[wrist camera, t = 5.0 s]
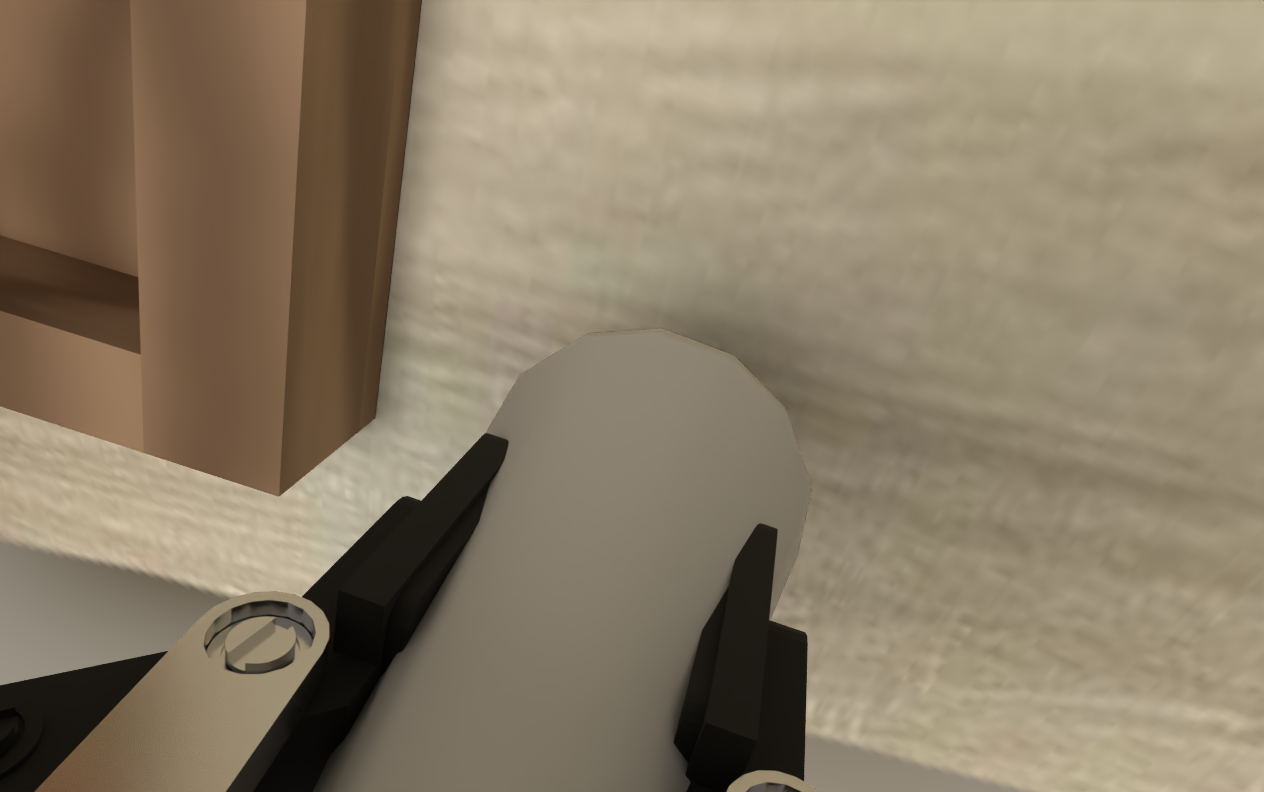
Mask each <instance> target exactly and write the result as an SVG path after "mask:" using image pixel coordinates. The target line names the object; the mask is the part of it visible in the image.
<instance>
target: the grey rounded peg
mask: <svg viewBox="0 0 1264 792" xmlns="http://www.w3.org/2000/svg"><path fill="white" fill-rule="evenodd" d="M486 433H489V434H492V435H495V436H498V437H501V438H504V439H506V440H508V441H509V445H508V449H507V453H506V456H505V460H504V462H503V463H502V465H501V467H500V468H499V470H498V472H497V473H496V475H495V477H494V478H493V480H492V481H491V482H490V486H489V489H488V493H487V496H486V500H485V503H484V507H483V510H482V514H481V517H480V521H479V523H478V525H477V526H476V528H475V530H474V531H473V533H472V535H471V536H470V538H469V540H468V542H467V543H466V545H465V547H464V548H463V550H462V552H461V553H460V555H459V557H458V558H457V560H456V562H455V564H454V565H453V567H452V569H451V570H450V572H449V574H448V575H447V577H446V579H445V580H444V582H443V584H442V586H441V587H440V589H439V591H438V592H437V594H436V596H435V597H434V599H433V601H432V602H431V604H430V606H429V608H428V609H427V611H426V613H425V614H424V616H423V618H422V619H421V621H420V623H419V624H418V626H417V628H416V630H415V631H414V633H413V635H412V636H411V638H410V640H409V641H408V643H407V645H406V646H405V648H404V650H403V651H402V652H399V653H397V654H396V655H395V657H394V659H393V660H392V662H391V663H390V665H389V667H388V668H387V670H386V671H385V673H384V674H383V675H382V676H381V677H380V679H379V680H378V682H377V684H376V686H375V687H374V689H373V691H372V692H371V694H370V696H369V698H368V699H367V701H366V703H365V704H364V706H363V708H362V710H361V711H360V713H359V715H358V716H357V718H356V720H355V722H354V723H353V725H352V727H351V728H350V730H349V732H348V733H347V735H346V737H345V739H344V740H343V741H342V742H341V744H340V745H339V746H338V747H337V748H336V749H335V750H334V752H333V753H332V754H331V755H330V757H329V759H328V761H327V763H326V765H325V767H324V770H323V772H322V774H321V776H320V778H319V780H318V782H317V784H316V786H315V788H314V790H313V792H686V791H687V789H688V787H689V785H690V783H691V782H690V781H689V779H688V778H687V777H686V775H685V774H686V770H687V765H688V762H687V761H686V760H685V758H684V757H683V756H682V754H681V753H680V751H679V750H678V749H677V747H676V746H675V745H674V739H675V735H676V731H677V727H678V723H679V719H680V715H681V711H682V708H683V704H684V700H685V696H686V692H687V688H688V684H689V680H690V676H691V672H692V668H693V664H694V660H695V656H696V652H697V648H698V645H699V641H700V637H701V633H702V629H703V628H704V626H705V624H706V623H707V621H708V620H709V618H710V616H711V615H712V613H713V611H714V610H715V608H716V606H717V605H718V603H719V601H720V600H721V598H722V596H723V595H724V593H725V592H726V590H727V588H728V587H729V584H730V579H731V574H732V570H733V566H734V562H735V559H736V557H737V556H738V554H739V552H740V551H741V549H742V548H743V546H744V544H745V543H746V541H747V540H748V538H749V536H750V535H751V533H752V532H753V530H754V529H755V527H756V526H757V525H758V524H759V523H761V524H765V525H768V526H771V527H774V528H777V529H778V535H777V545H776V556H775V566H774V576H773V586H772V597H771V607H770V617H769V620H770V619H771V617H772V614H773V612H774V610H775V607H776V605H777V602H778V600H779V598H780V595H781V593H782V591H783V588H784V586H785V583H786V581H787V579H788V576H789V574H790V571H791V569H792V567H793V564H794V562H795V560H796V557H797V555H798V551H799V546H800V542H801V537H802V532H803V528H804V523H805V518H806V514H807V509H808V504H809V500H810V495H811V490H812V489H811V485H810V481H809V478H808V474H807V471H806V468H805V465H804V462H803V459H802V456H801V453H800V450H799V447H798V444H797V441H796V438H795V435H794V432H793V429H792V426H791V422H790V419H789V416H788V413H787V410H786V408H785V407H784V406H783V405H782V404H781V403H780V402H779V401H778V400H777V399H776V398H775V397H774V396H773V395H772V394H771V393H770V392H769V391H768V390H767V389H766V388H765V387H764V386H763V385H762V384H761V383H760V382H759V381H758V380H757V378H756V377H755V376H754V375H753V374H752V373H751V372H750V371H749V370H748V369H747V368H746V367H745V366H744V365H743V364H742V363H741V362H740V361H739V360H738V359H737V358H736V357H735V356H734V355H732V354H729V353H726V352H724V351H721V350H718V349H716V348H713V347H711V346H708V345H705V344H703V343H700V342H697V341H695V340H692V339H690V338H687V337H684V336H682V335H679V334H676V333H674V332H671V331H669V330H666V329H663V328H657V329H642V330H627V331H611V332H596V333H588V334H587V335H585V336H583V337H581V338H579V339H577V340H576V341H574V342H573V343H571V344H569V345H568V346H566V347H564V348H563V349H561V350H559V351H558V352H556V353H555V354H553V355H551V356H550V357H548V358H546V359H545V360H543V361H541V362H540V363H538V364H537V365H535V366H533V367H532V368H530V369H528V370H527V371H525V372H523V373H522V374H520V375H519V377H518V379H517V380H516V382H515V384H514V385H513V387H512V389H511V391H510V392H509V394H508V396H507V397H506V399H505V401H504V402H503V404H502V406H501V408H500V409H499V411H498V413H497V414H496V416H495V418H494V420H493V421H492V423H491V425H490V426H489V428H488V430H487V432H486Z"/></svg>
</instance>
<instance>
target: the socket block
mask: <svg viewBox="0 0 1264 792" xmlns="http://www.w3.org/2000/svg"><path fill="white" fill-rule="evenodd" d="M420 9H421V0H0V406H1V407H4V408H7V409H10V410H13V411H16V412H20V413H23V414H26V415H29V416H32V417H35V418H38V419H41V420H44V421H47V422H50V423H53V424H57V425H60V426H63V427H66V428H69V429H72V430H75V431H78V432H81V433H84V434H87V435H90V436H94V437H97V438H100V439H103V440H106V441H109V442H112V443H115V444H118V445H121V446H124V447H128V448H131V449H134V450H137V451H140V452H143V453H146V454H149V455H152V456H155V457H158V458H161V459H165V460H168V461H171V462H174V463H177V464H180V465H183V466H186V467H189V468H192V469H195V470H198V471H202V472H205V473H208V474H211V475H214V476H217V477H220V478H223V479H226V480H229V481H232V482H235V483H239V484H242V485H245V486H248V487H251V488H254V489H257V490H260V491H263V492H266V493H269V494H272V495H276V496H280V495H282V494H283V493H284V492H285V491H286V490H288V489H289V488H290V487H291V486H293V485H294V484H295V483H296V482H297V481H299V480H300V479H301V478H302V477H304V476H305V475H306V474H307V473H308V472H310V471H311V470H312V469H313V468H315V467H316V466H317V465H318V464H320V463H321V462H322V461H323V460H324V459H326V458H327V457H328V456H329V455H331V454H332V453H333V452H334V451H335V450H337V449H338V448H339V447H340V446H342V445H343V444H344V443H345V442H346V441H348V440H349V439H350V438H351V437H353V436H354V435H355V434H356V433H358V432H359V431H360V430H361V429H362V428H364V427H365V426H366V425H367V424H369V423H370V422H371V421H372V420H373V419H375V413H376V404H377V396H378V387H379V378H380V369H381V360H382V351H383V342H384V333H385V324H386V315H387V306H388V297H389V288H390V279H391V270H392V261H393V252H394V243H395V234H396V225H397V216H398V207H399V198H400V189H401V180H402V171H403V162H404V153H405V144H406V135H407V126H408V117H409V108H410V99H411V90H412V81H413V72H414V63H415V54H416V45H417V36H418V27H419V18H420Z"/></svg>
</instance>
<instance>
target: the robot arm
mask: <svg viewBox="0 0 1264 792" xmlns="http://www.w3.org/2000/svg"><path fill="white" fill-rule="evenodd" d="M508 445H509V441H508V440H506V439H504V438H501V437H498V436H495V435H492V434H489V433H485V434H484V435H483V436H482V437H481V438H480V439H479V440H478V441H477V442H476V443H475V444H474V445H473V446H472V447H471V449H470V450H469V451H468V452H467V453H466V454H465V455H464V456H463V457H462V458H461V459H460V460H459V461H458V462H457V463H456V465H455V466H454V467H453V468H452V469H451V470H450V471H449V472H448V473H447V474H446V475H445V476H444V477H443V478H442V480H441V481H440V482H439V483H438V484H437V485H436V486H435V487H434V488H433V489H432V490H431V491H430V492H429V493H428V494H427V496H426V497H425V498H424V499H423V500H422V501H420V500H417V499H414V498H412V497H409V496H406V497H402V498H401V499H399V500H398V501H397V502H396V503H395V504H394V505H393V506H392V507H391V508H390V509H389V510H388V511H387V512H386V513H385V514H384V515H383V516H382V517H381V518H380V519H379V520H378V521H377V522H376V523H375V524H374V525H373V526H372V527H371V528H370V529H369V530H368V531H367V532H366V533H365V534H364V535H363V536H362V537H361V538H360V539H359V540H358V541H357V542H356V543H355V544H354V545H353V546H352V547H351V548H350V549H349V550H348V551H347V552H346V553H345V554H344V555H343V556H342V557H341V558H340V559H339V560H338V561H337V562H336V563H335V564H334V565H333V566H332V567H331V568H330V569H329V570H328V571H327V572H326V573H325V574H324V575H323V576H322V577H321V578H320V579H319V580H318V581H317V582H316V583H315V584H314V585H313V586H312V587H311V588H310V589H309V590H308V591H307V592H306V593H305V594H304V595H303V596H302V597H300V596H298V595H295V594H289V593H283V592H277V591H271V592H254V593H250V594H245V595H241V596H237V597H234V598H231V599H229V600H227V601H225V602H223V603H221V604H219V605H216V606H215V607H213V608H212V609H211V610H210V611H208V612H207V613H206V614H205V615H203V616H202V617H201V618H200V619H199V620H198V621H197V622H196V623H195V624H194V625H193V626H192V627H191V628H190V629H189V630H188V631H187V632H186V633H185V634H184V636H182V638H181V639H180V640H179V641H178V642H177V643H176V644H175V645H174V646H173V647H172V648H171V649H170V650H169V651H166V652H161V653H156V654H151V655H146V656H141V657H137V658H132V659H127V660H122V661H117V662H112V663H107V664H102V665H98V666H93V667H88V668H83V669H78V670H73V671H68V672H63V673H59V674H54V675H49V676H44V677H39V678H34V679H29V680H24V681H20V682H15V683H10V684H6V685H0V792H313V790H314V788H315V786H316V784H317V782H318V780H319V778H320V776H321V774H322V772H323V770H324V767H325V765H326V763H327V761H328V759H329V757H330V755H331V754H332V753H333V752H334V750H335V749H336V748H337V747H338V746H339V745H340V744H341V742H342V741H343V740H344V739H345V737H346V735H347V733H348V732H349V730H350V728H351V727H352V725H353V723H354V722H355V720H356V718H357V716H358V715H359V713H360V711H361V710H362V708H363V706H364V704H365V703H366V701H367V699H368V698H369V696H370V694H371V692H372V691H373V689H374V687H375V686H376V684H377V682H378V680H379V679H380V677H381V676H382V675H383V674H384V673H385V671H386V670H387V668H388V667H389V665H390V663H391V662H392V660H393V659H394V657H395V655H396V654H397V653H399V652H402V651H403V650H404V648H405V646H406V645H407V643H408V641H409V640H410V638H411V636H412V635H413V633H414V631H415V630H416V628H417V626H418V624H419V623H420V621H421V619H422V618H423V616H424V614H425V613H426V611H427V609H428V608H429V606H430V604H431V602H432V601H433V599H434V597H435V596H436V594H437V592H438V591H439V589H440V587H441V586H442V584H443V582H444V580H445V579H446V577H447V575H448V574H449V572H450V570H451V569H452V567H453V565H454V564H455V562H456V560H457V558H458V557H459V555H460V553H461V552H462V550H463V548H464V547H465V545H466V543H467V542H468V540H469V538H470V536H471V535H472V533H473V531H474V530H475V528H476V526H477V525H478V523H479V521H480V517H481V514H482V510H483V507H484V503H485V500H486V496H487V493H488V489H489V486H490V482H491V481H492V480H493V478H494V477H495V475H496V473H497V472H498V470H499V468H500V467H501V465H502V463H503V462H504V460H505V456H506V453H507V449H508ZM777 535H778V529H777V528H774V527H771V526H768V525H765V524H761V523H759V524H758V525H757V526H756V527H755V529H754V530H753V532H752V533H751V535H750V536H749V538H748V540H747V541H746V543H745V544H744V546H743V548H742V549H741V551H740V552H739V554H738V556H737V557H736V559H735V562H734V566H733V570H732V574H731V579H730V584H729V587H728V588H727V590H726V592H725V593H724V595H723V596H722V598H721V600H720V601H719V603H718V605H717V606H716V608H715V610H714V611H713V613H712V615H711V616H710V618H709V620H708V621H707V623H706V624H705V626H704V628H703V629H702V633H701V637H700V641H699V645H698V648H697V652H696V656H695V660H694V664H693V668H692V672H691V676H690V680H689V684H688V688H687V692H686V696H685V700H684V704H683V708H682V711H681V715H680V719H679V723H678V727H677V731H676V735H675V739H674V745H675V746H676V747H677V749H678V750H679V751H680V753H681V754H682V756H683V757H684V758H685V760H686V761H687V762H688V765H687V770H686V774H685V775H686V777H687V778H688V779H689V781H690V782H691V783H690V785H689V787H688V789H687V791H686V792H819V791H818V790H817V789H816V788H814V787H812V786H810V785H809V784H807V783H805V782H804V761H805V760H804V758H805V722H806V684H807V646H808V643H807V635H806V633H805V632H802V631H799V630H796V629H793V628H790V627H788V626H785V625H782V624H779V623H776V622H773V621H770V620H769V617H770V607H771V597H772V586H773V576H774V566H775V556H776V545H777Z"/></svg>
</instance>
